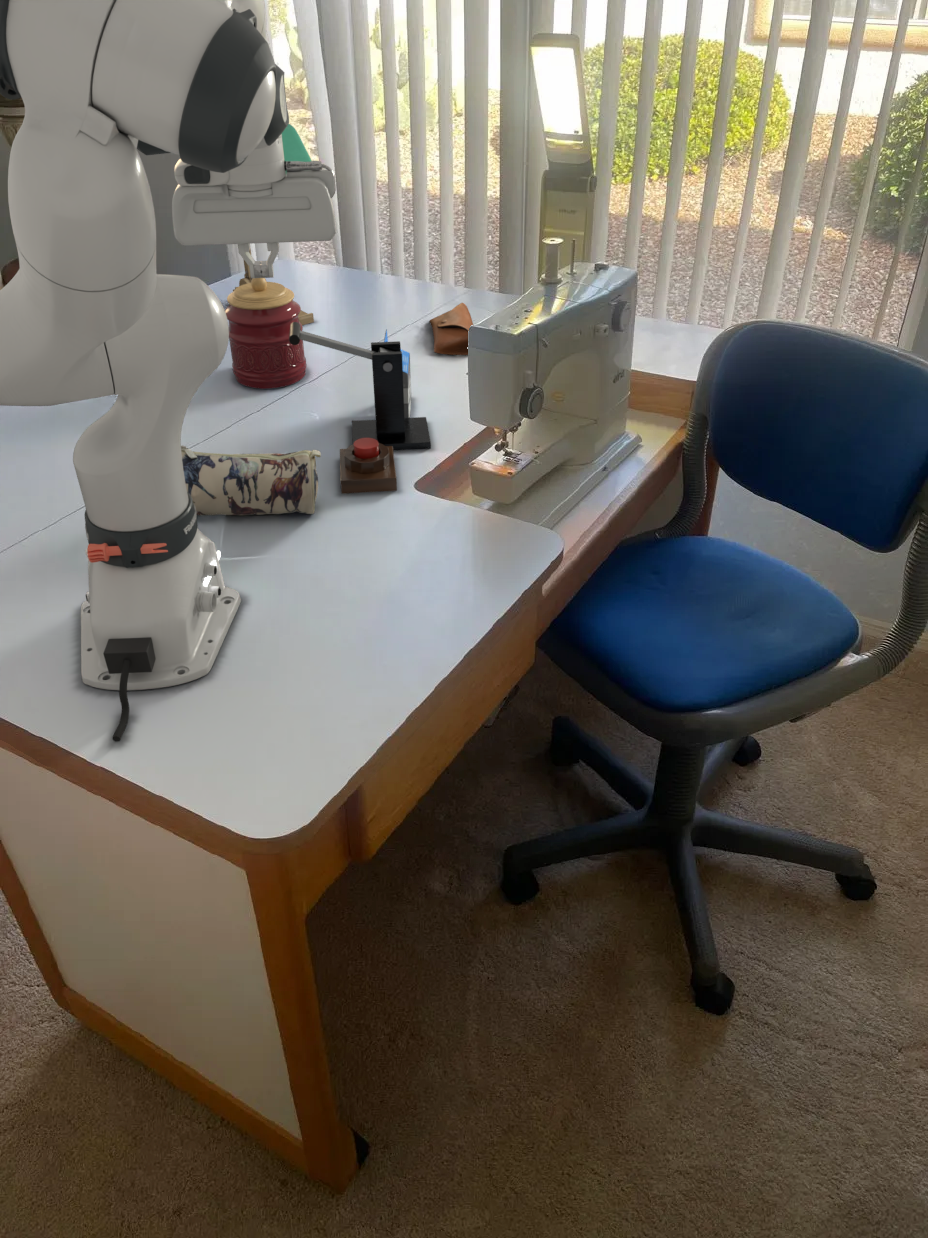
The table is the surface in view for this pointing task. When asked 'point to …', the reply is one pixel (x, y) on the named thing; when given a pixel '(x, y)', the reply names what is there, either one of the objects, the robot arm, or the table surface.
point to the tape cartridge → (405, 380)
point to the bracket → (391, 405)
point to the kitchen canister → (264, 335)
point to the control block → (367, 471)
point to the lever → (328, 342)
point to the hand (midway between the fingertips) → (262, 276)
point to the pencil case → (251, 482)
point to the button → (366, 448)
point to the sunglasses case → (452, 331)
